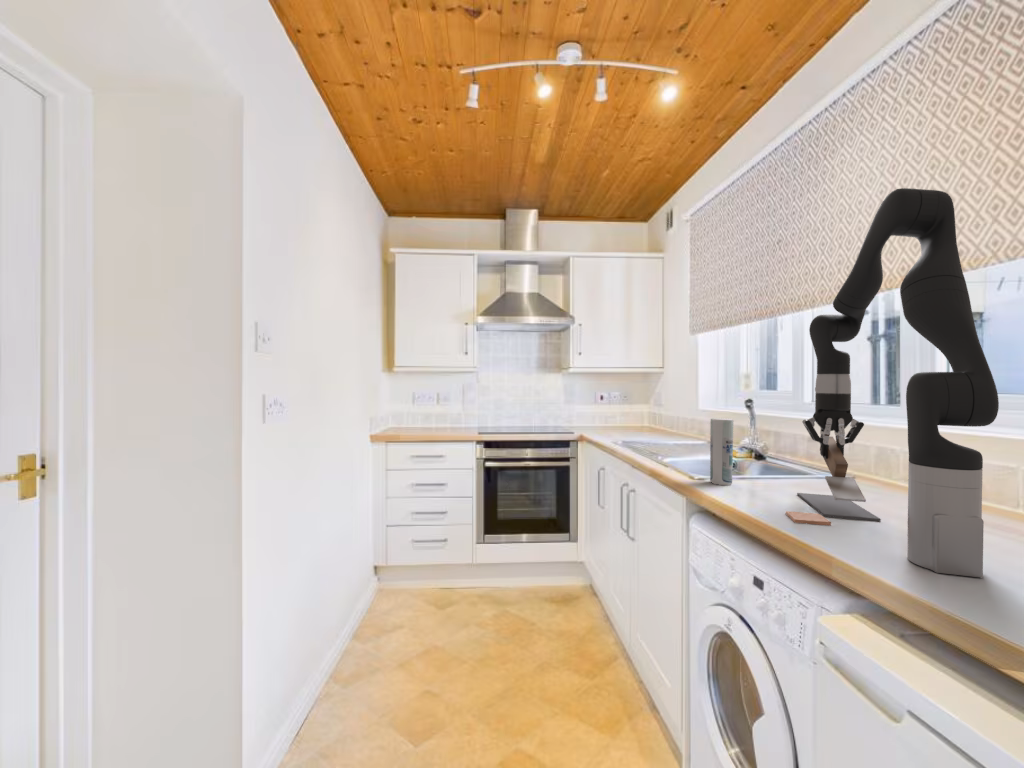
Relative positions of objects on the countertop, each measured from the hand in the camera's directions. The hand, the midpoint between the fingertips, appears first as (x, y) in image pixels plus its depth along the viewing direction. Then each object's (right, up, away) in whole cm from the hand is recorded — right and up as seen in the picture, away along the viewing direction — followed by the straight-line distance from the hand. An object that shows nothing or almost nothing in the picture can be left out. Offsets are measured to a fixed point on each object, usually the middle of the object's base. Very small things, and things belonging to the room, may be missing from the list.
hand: (832, 458), depth 118 cm
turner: (-1, -3, -3) cm, 5 cm away
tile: (-14, -12, -10) cm, 21 cm away
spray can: (-18, -12, +24) cm, 32 cm away
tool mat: (-1, -12, -2) cm, 12 cm away
